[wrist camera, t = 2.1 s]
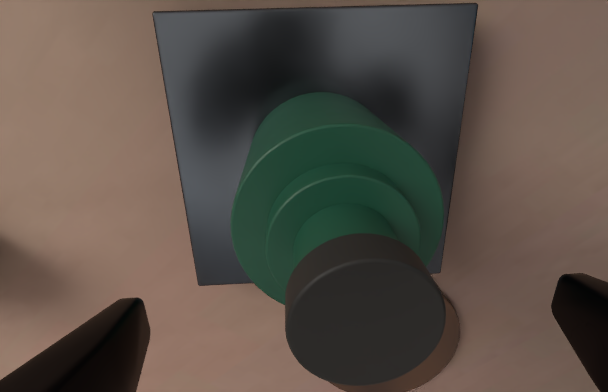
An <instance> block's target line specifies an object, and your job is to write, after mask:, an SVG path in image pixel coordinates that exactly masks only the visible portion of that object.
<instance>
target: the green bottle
mask: <svg viewBox="0 0 608 392" xmlns="http://www.w3.org/2000/svg"><path fill="white" fill-rule="evenodd" d="M230 223H231V237H232V242H233V247H234V250H235V253H236V255H237V258H238V260H239V262H240V264H241V266H242V268H243V269H244V271H245V272H246V274H247V275H248V276H249V278H250V279H251V280H252V281H253V282H254V283H255V284H256V286H257V287H258V288H259V289H261V290H262V291H263V292H264V293H266V294H267V295H268V296H270V297H271V298H273V299H274V300H276V301H278V302H280V303H282V304H284V305H285V331H286V338H287V342H288V345H289V347H290V349H291V351H292V353H293V355H294V356H295V358H296V359H297V360H298V362H299V363H300V364H301V365H302V366H303V367H304V368H305V369H307V370H308V371H309V372H311V373H312V374H314V375H316V376H317V377H319V378H321V379H324V380H326V381H329V382H333V383H336V384H342V385H350V386H366V385H374V384H379V383H383V382H387V381H390V380H393V379H395V378H398V377H400V376H402V375H404V374H406V373H408V372H410V371H411V370H413V369H414V368H416V367H417V366H419V365H420V364H421V363H422V362H423V361H425V360H426V358H427V357H428V356H429V355H430V354H431V353H432V352H433V350H434V349H435V348H436V346H437V345H438V343H439V341H440V339H441V337H442V334H443V332H444V327H445V322H446V308H445V302H444V298H443V296H442V294H441V291H440V289H439V288H438V286H437V284H436V283H435V281H434V280H433V278H432V276H431V275H430V273H429V272H428V270H427V268H426V267H427V265H428V264H429V262H430V261H431V259H432V257H433V255H434V253H435V251H436V249H437V247H438V244H439V241H440V238H441V234H442V229H443V223H444V203H443V196H442V192H441V188H440V185H439V183H438V180H437V178H436V175H435V173H434V172H433V170H432V168H431V167H430V165H429V163H428V162H427V161H426V160H425V159H424V157H423V156H422V155H421V154H420V153H419V152H418V151H417V150H416V149H415V148H414V147H412V146H411V145H410V144H409V143H408V142H407V141H405V140H404V139H403V138H402V137H401V136H399V135H398V134H397V133H396V132H395V131H393V130H392V129H391V128H390V127H389V126H387V125H386V124H385V123H384V122H383V121H381V120H380V119H379V118H378V117H377V116H375V115H374V114H373V113H372V112H371V111H369V110H368V109H367V108H366V107H365V106H363V105H362V104H360V103H359V102H357V101H355V100H353V99H351V98H349V97H346V96H343V95H340V94H336V93H330V92H315V93H307V94H303V95H299V96H297V97H294V98H291V99H289V100H287V101H286V102H284V103H282V104H280V105H279V106H278V107H276V108H275V109H274V110H273V111H272V112H271V113H270V114H269V115H268V116H266V118H265V119H264V120H263V122H262V123H261V124H260V126H259V128H258V129H257V131H256V133H255V135H254V138H253V140H252V143H251V147H250V150H249V153H248V156H247V159H246V163H245V166H244V169H243V172H242V175H241V179H240V182H239V185H238V188H237V191H236V195H235V198H234V202H233V206H232V212H231V221H230Z"/></svg>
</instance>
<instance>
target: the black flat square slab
mask: <svg viewBox="0 0 608 392" xmlns="http://www.w3.org/2000/svg"><path fill="white" fill-rule="evenodd" d="M477 9H478V4H477V3H455V4H417V5H379V6H341V7H304V8H266V9H228V10H190V11H154V12H153V14H152V15H153V21H154V27H155V33H156V39H157V44H158V50H159V56H160V62H161V68H162V74H163V80H164V86H165V92H166V98H167V103H168V109H169V115H170V121H171V127H172V133H173V139H174V145H175V151H176V157H177V163H178V168H179V174H180V180H181V186H182V192H183V198H184V204H185V210H186V216H187V222H188V228H189V233H190V239H191V245H192V251H193V257H194V263H195V269H196V275H197V281H198V285H199V286H205V285H224V284H243V283H254V282H253V281H252V280H251V279H250V278H249V276H248V275H247V274H246V272H245V271H244V269H243V268H242V266H241V264H240V262H239V260H238V258H237V255H236V253H235V250H234V247H233V242H232V237H231V223H230V221H231V212H232V206H233V202H234V198H235V195H236V191H237V188H238V185H239V182H240V179H241V175H242V172H243V169H244V166H245V163H246V159H247V156H248V153H249V150H250V147H251V143H252V140H253V138H254V135H255V133H256V131H257V129H258V128H259V126H260V124H261V123H262V122H263V120H264V119H265V118H266V116H268V115H269V114H270V113H271V112H272V111H273V110H274V109H275V108H276V107H278V106H279V105H280V104H282V103H284V102H286V101H287V100H289V99H291V98H294V97H297V96H299V95H303V94H307V93H315V92H330V93H336V94H340V95H343V96H346V97H349V98H351V99H353V100H355V101H357V102H359V103H360V104H362V105H363V106H365V107H366V108H367V109H368V110H369V111H371V112H372V113H373V114H374V115H375V116H377V117H378V118H379V119H380V120H381V121H383V122H384V123H385V124H386V125H387V126H389V127H390V128H391V129H392V130H393V131H395V132H396V133H397V134H398V135H399V136H401V137H402V138H403V139H404V140H405V141H407V142H408V143H409V144H410V145H411V146H412V147H414V148H415V149H416V150H417V151H418V152H419V153H420V154H421V155H422V156H423V157H424V159H425V160H426V161H427V162H428V163H429V165H430V167H431V168H432V170H433V172H434V173H435V175H436V178H437V180H438V183H439V185H440V188H441V192H442V196H443V203H444V223H443V229H442V234H441V238H440V241H439V244H438V247H437V249H436V251H435V253H434V255H433V257H432V259H431V261H430V262H429V264H428V265H427V267H426V268H427V270H428V272H429V273H430V274H432V273H440V272H441V265H442V258H443V250H444V243H445V236H446V229H447V222H448V215H449V208H450V201H451V194H452V187H453V179H454V172H455V165H456V158H457V151H458V144H459V137H460V130H461V123H462V115H463V108H464V101H465V94H466V87H467V80H468V73H469V66H470V59H471V52H472V44H473V37H474V30H475V23H476V16H477Z"/></svg>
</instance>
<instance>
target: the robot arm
mask: <svg viewBox="0 0 608 392" xmlns="http://www.w3.org/2000/svg"><path fill="white" fill-rule="evenodd" d="M551 308H552V313H553V315H554V317H555V319H556V321H557V322H558V324H559V326H560V327H561V329H562V331H563V332H564V334H565V336H566V337H567V339H568V341H569V342H570V344H571V346H572V347H573V349H574V351H575V352H576V354H577V356H578V357H579V359H580V361H581V362H582V364H583V366H584V367H585V369H586V371H587V372H588V374H589V376H590V377H591V379H592V380H593V382H594V383H595V385H596V386H597V388H598V389H599V391H600V392H608V282H605V281H602V280H600V279H597V278H594V277H592V276H589V275H587V274H583V273H574V274H564V275H562V276H561V277H560V278H559V280H558V283H557V287H556V290H555V294H554V297H553V301H552V305H551ZM149 340H150V326H149V322H148V318H147V314H146V310H145V306H144V303H143V301H142V299H140V298H123V299H119V300H118V301H116V302H115V303H113V304H112V305H110V306H109V307H107V308H106V309H104V310H103V311H101V312H100V313H99V314H97V315H96V316H94V317H93V318H91V319H90V320H88V321H87V322H85V323H84V324H82V325H81V326H79V327H78V328H76V329H75V330H74V331H72V332H71V333H69V334H68V335H66V336H65V337H63V338H62V339H60V340H59V341H57V342H56V343H54V344H53V345H51V346H50V347H49V348H47V349H46V350H44V351H43V352H41V353H40V354H38V355H37V356H35V357H34V358H32V359H31V360H29V361H28V362H26V363H25V364H24V365H22V366H21V367H19V368H18V369H16V370H15V371H13V372H12V373H10V374H9V375H7V376H6V377H4V378H3V379H1V380H0V392H136V390H137V386H138V382H139V378H140V374H141V371H142V367H143V363H144V359H145V355H146V351H147V348H148V344H149Z"/></svg>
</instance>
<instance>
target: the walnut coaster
mask: <svg viewBox="0 0 608 392" xmlns="http://www.w3.org/2000/svg"><path fill="white" fill-rule="evenodd" d="M441 294H442V293H441ZM442 296H443V298H444V302H445V308H446V322H445V327H444V332H443V334H442V337H441V339H440V341H439V343H438V345H437V346H436V348H435V349H434V350H433V352H432V353H431V354H430V355H429V356H428V357H427V358H426V360H425V361H423V362H422V363H421V364H420V365H419V366H417V367H416V368H414V369H413V370H411V371H410V372H408V373H406V374H404V375H402V376H400V377H398V378H395V379H393V380H390V381H387V382H383V383H379V384H374V385H366V386H350V385H342V384H336V383H333V382H330V383H331V384H333V385H334V386H336V387H338V388H339V389H342V390H344V391H346V392H406V391H409V390H412V389H414V388H417V387H419V386H420V385H422V384H424V383H426V382H428V381H429V380H431V379H432V378H433V377H435V376H436V375H437V374H438V373H440V372H441V371H442V370H443V369H444V368H445V366H446V365H447V364H448V363H449V361H450V360H451V358H452V357H453V355H454V353H455V351H456V348H457V346H458V342H459V337H460V325H459V320H458V316H457V314H456V312H455V310H454V308H453V307H452V305H451V304H450V302H449V301H448V299H447V298H446V297H445V296H444V295H443V294H442Z"/></svg>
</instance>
